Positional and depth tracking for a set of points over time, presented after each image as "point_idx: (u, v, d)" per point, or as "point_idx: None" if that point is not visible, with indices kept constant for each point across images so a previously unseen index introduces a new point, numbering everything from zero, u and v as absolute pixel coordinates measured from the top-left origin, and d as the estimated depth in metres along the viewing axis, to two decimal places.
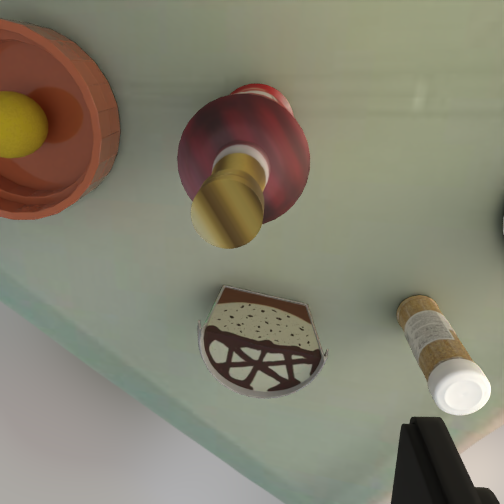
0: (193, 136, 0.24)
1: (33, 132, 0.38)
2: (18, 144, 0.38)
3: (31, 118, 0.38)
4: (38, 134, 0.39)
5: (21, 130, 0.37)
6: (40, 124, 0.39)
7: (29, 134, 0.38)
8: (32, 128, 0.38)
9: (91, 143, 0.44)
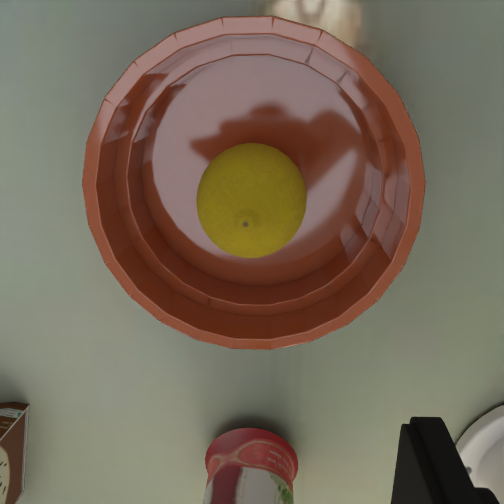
0: None
1: None
2: (222, 248, 0.22)
3: None
4: None
5: (246, 257, 0.22)
6: None
7: None
8: None
9: (221, 262, 0.29)
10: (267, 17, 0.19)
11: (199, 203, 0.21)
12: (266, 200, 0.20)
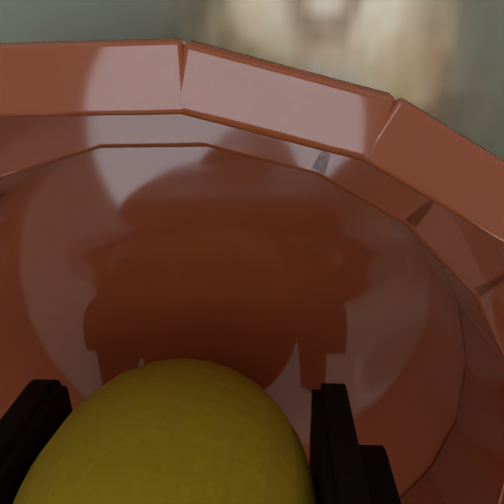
0: None
1: None
2: None
3: None
4: None
5: None
6: None
7: None
8: None
9: None
10: (158, 45, 0.04)
11: None
12: None
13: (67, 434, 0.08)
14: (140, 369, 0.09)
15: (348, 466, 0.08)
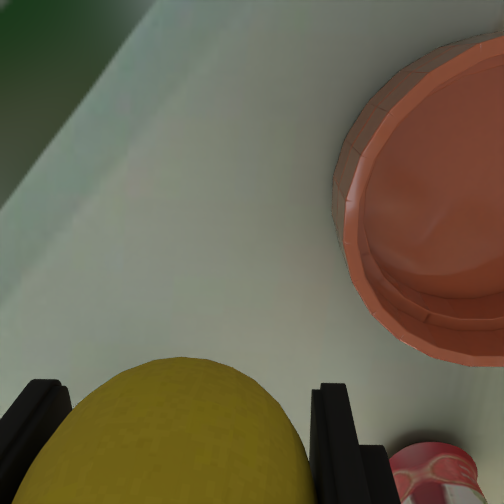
0: None
1: None
2: None
3: None
4: None
5: None
6: None
7: None
8: None
9: (426, 275, 0.28)
10: None
11: None
12: None
13: (67, 433, 0.08)
14: (140, 368, 0.09)
15: (348, 466, 0.08)
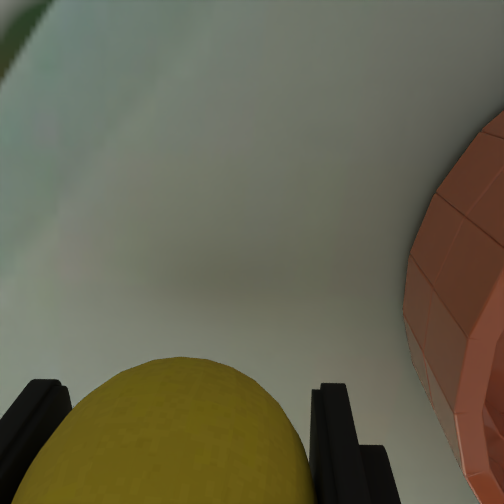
0: None
1: None
2: None
3: None
4: None
5: None
6: None
7: None
8: None
9: None
10: None
11: None
12: None
13: (66, 433, 0.08)
14: (140, 368, 0.09)
15: (348, 466, 0.08)
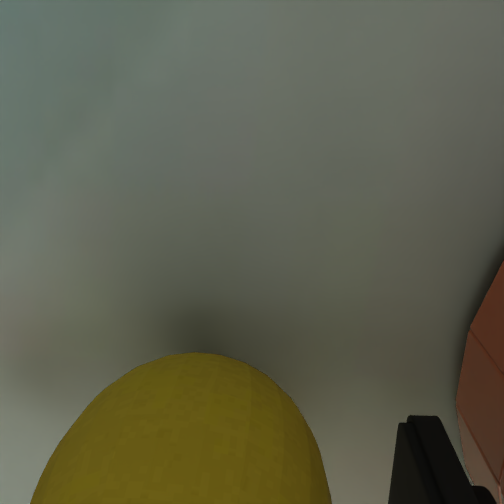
0: None
1: None
2: None
3: None
4: None
5: None
6: None
7: None
8: None
9: None
10: None
11: None
12: None
13: (87, 424, 0.08)
14: (156, 362, 0.09)
15: None
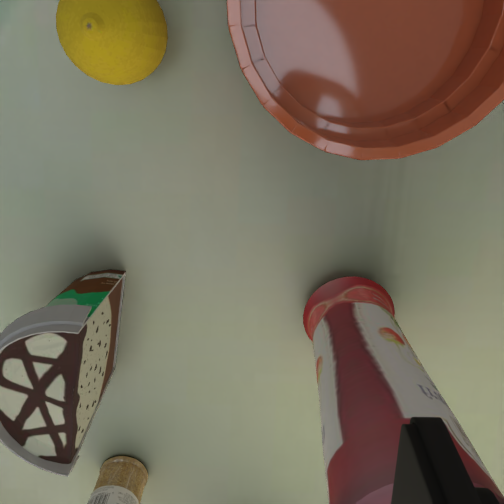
0: None
1: (106, 82, 0.25)
2: (81, 66, 0.23)
3: (127, 80, 0.25)
4: (106, 82, 0.25)
5: (105, 75, 0.24)
6: (122, 84, 0.26)
7: (102, 79, 0.24)
8: (112, 82, 0.25)
9: (329, 98, 0.29)
10: None
11: (56, 22, 0.23)
12: (109, 5, 0.21)
13: None
14: None
15: None
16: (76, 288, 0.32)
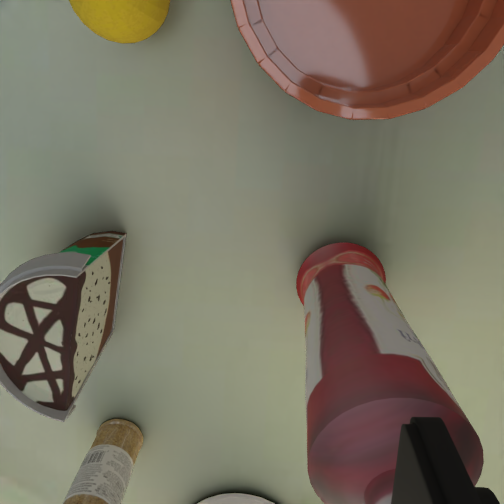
0: None
1: (110, 38, 0.26)
2: (87, 20, 0.25)
3: (130, 37, 0.26)
4: (110, 40, 0.27)
5: (109, 29, 0.25)
6: (125, 42, 0.27)
7: (106, 35, 0.26)
8: (116, 38, 0.26)
9: (325, 65, 0.31)
10: None
11: None
12: None
13: None
14: None
15: None
16: (78, 244, 0.33)
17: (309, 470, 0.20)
